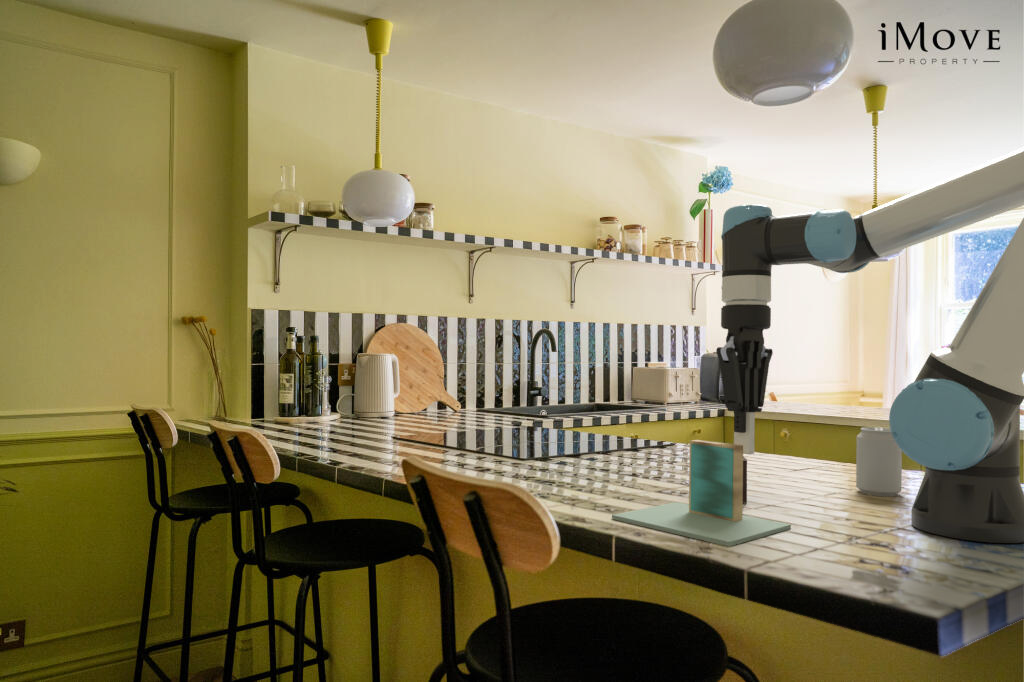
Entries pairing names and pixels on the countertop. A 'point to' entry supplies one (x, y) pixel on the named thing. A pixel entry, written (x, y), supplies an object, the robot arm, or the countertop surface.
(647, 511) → the mat
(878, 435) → the can
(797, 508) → the countertop surface
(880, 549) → the countertop surface
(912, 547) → the countertop surface
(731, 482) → the tile
